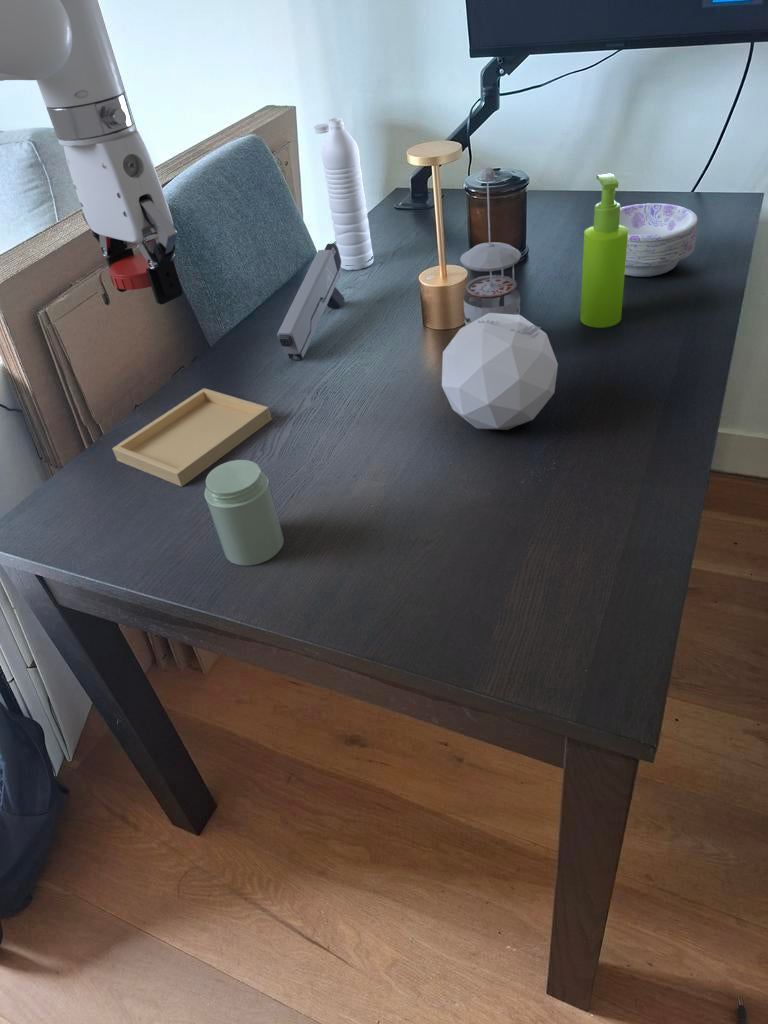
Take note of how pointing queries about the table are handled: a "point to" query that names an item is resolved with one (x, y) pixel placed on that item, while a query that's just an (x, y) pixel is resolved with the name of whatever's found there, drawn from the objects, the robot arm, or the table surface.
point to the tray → (192, 436)
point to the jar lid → (130, 273)
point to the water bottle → (346, 195)
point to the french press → (491, 286)
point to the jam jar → (243, 512)
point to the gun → (311, 302)
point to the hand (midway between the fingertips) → (149, 292)
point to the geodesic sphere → (499, 371)
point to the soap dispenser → (604, 261)
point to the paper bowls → (657, 237)
